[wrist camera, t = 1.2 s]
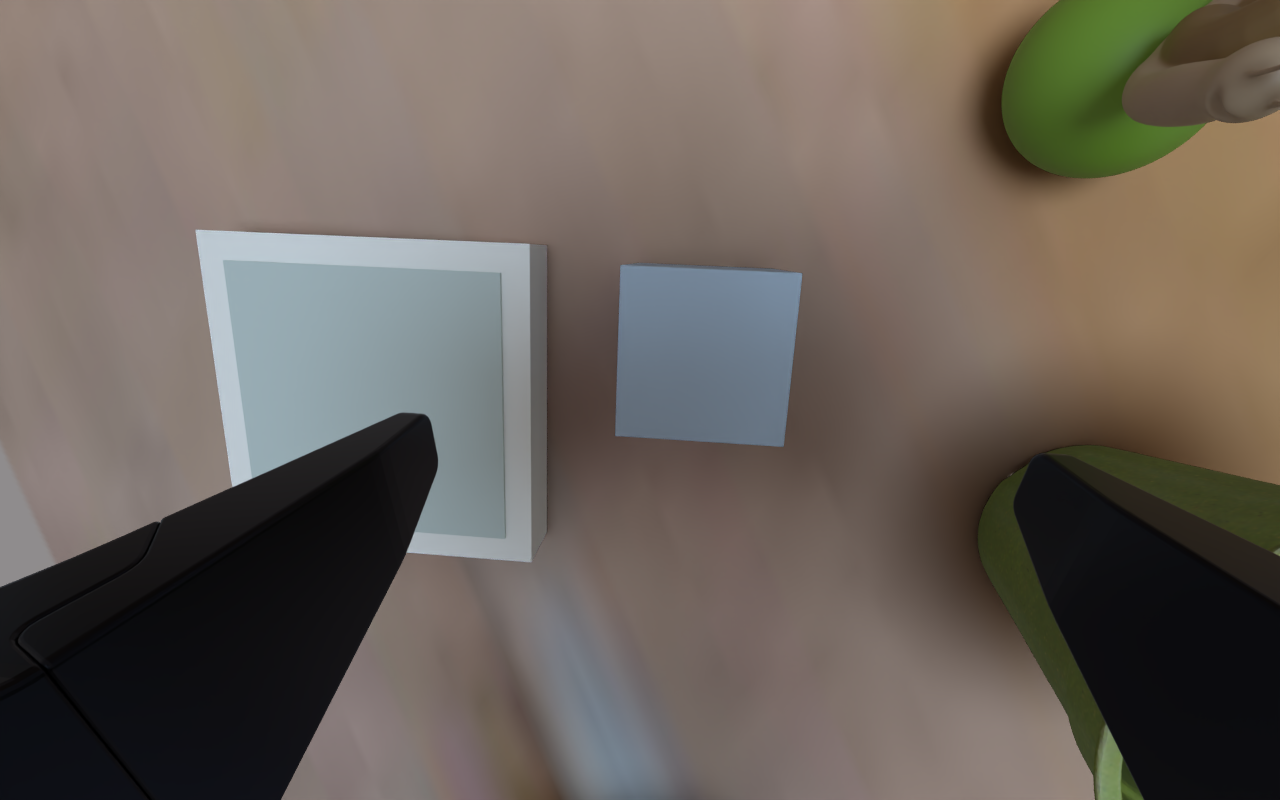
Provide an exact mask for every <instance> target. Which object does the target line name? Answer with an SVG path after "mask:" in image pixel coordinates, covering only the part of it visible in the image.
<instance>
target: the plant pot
mask: <svg viewBox="0 0 1280 800" xmlns="http://www.w3.org/2000/svg"><path fill="white" fill-rule="evenodd" d="M1046 453H1052V454H1066V455H1071V456H1073V457H1076V458H1078V459H1080V460H1082V461H1084V462H1086V463H1088V464H1090V465H1092V466H1094V467H1096V468H1098V469H1100V470H1103V471H1105V472H1107V473H1109V474H1111V475H1113V476H1115V477H1117V478H1119V479H1121V480H1123V481H1125V482H1127V483H1130V484H1132V485H1134V486H1136V487H1138V488H1140V489H1142V490H1144V491H1146V492H1148V493H1150V494H1152V495H1154V496H1156V497H1159V498H1161V499H1163V500H1165V501H1167V502H1169V503H1171V504H1173V505H1175V506H1177V507H1179V508H1181V509H1183V510H1186V511H1188V512H1190V513H1192V514H1194V515H1196V516H1198V517H1200V518H1202V519H1204V520H1206V521H1208V522H1210V523H1213V524H1215V525H1217V526H1219V527H1221V528H1223V529H1225V530H1227V531H1229V532H1231V533H1233V534H1235V535H1237V536H1240V537H1242V538H1244V539H1246V540H1248V541H1250V542H1252V543H1254V544H1256V545H1258V546H1260V547H1262V548H1264V549H1266V550H1269V551H1271V552H1273V553H1275V554H1277V555H1279V556H1280V485H1276V484H1272V483H1267V482H1262V481H1258V480H1253V479H1249V478H1244V477H1240V476H1236V475H1231V474H1227V473H1222V472H1218V471H1213V470H1209V469H1204V468H1200V467H1195V466H1191V465H1186V464H1182V463H1177V462H1173V461H1168V460H1164V459H1160V458H1155V457H1151V456H1147V455H1142V454H1138V453H1134V452H1129V451H1124V450H1120V449H1115V448H1110V447H1105V446H1096V445H1081V446H1071V447H1065V448H1060V449H1056V450H1052V451H1049V452H1046ZM1028 465H1029V464H1027V465H1026V466H1025V467H1023V468H1022V469H1020V470H1018V471H1017V472H1016V473H1014V474H1013V475H1011V476H1010V477H1008V478H1006V479H1005V480H1003V481H1002V482H1001V483H1000V484H999V485H998V487H997V488H996V489H995V490H994V492H993V493H992V495H991V497H990V498H989V500H988V502H987V504H986V505H985V507H984V510H983V513H982V516H981V519H980V522H979V528H978V549H979V554H980V558H981V562H982V564H983V567H984V569H985V571H986V573H987V575H988V577H989V579H990V580H991V582H992V584H993V586H994V587H995V589H996V591H997V593H998V594H999V596H1000V598H1001V599H1002V601H1003V603H1004V605H1005V606H1006V608H1007V610H1008V612H1009V613H1010V615H1011V617H1012V618H1013V620H1014V622H1015V624H1016V625H1017V627H1018V629H1019V631H1020V632H1021V634H1022V636H1023V638H1024V639H1025V641H1026V643H1027V645H1028V646H1029V648H1030V650H1031V652H1032V654H1033V655H1034V657H1035V659H1036V661H1037V662H1038V664H1039V666H1040V668H1041V669H1042V671H1043V673H1044V675H1045V676H1046V678H1047V680H1048V682H1049V683H1050V685H1051V687H1052V688H1053V690H1054V692H1055V694H1056V695H1057V697H1058V699H1059V701H1060V702H1061V704H1062V706H1063V708H1064V709H1065V711H1066V713H1067V715H1068V717H1069V722H1070V726H1071V729H1072V732H1073V735H1074V738H1075V741H1076V743H1077V746H1078V748H1079V750H1080V752H1081V754H1082V756H1083V758H1084V760H1085V761H1086V763H1087V765H1088V767H1089V769H1090V771H1091V772H1092V774H1093V777H1094V794H1095V800H1144V799H1143V797H1142V795H1141V793H1140V791H1139V789H1138V787H1137V785H1136V783H1135V781H1134V779H1133V777H1132V775H1131V773H1130V771H1129V769H1128V767H1127V765H1126V763H1125V761H1124V759H1123V757H1122V755H1121V753H1120V751H1119V749H1118V747H1117V745H1116V743H1115V741H1114V739H1113V737H1112V735H1111V733H1110V731H1109V729H1108V727H1107V725H1106V723H1105V721H1104V719H1103V717H1102V715H1101V713H1100V711H1099V708H1098V706H1097V704H1096V702H1095V700H1094V698H1093V696H1092V694H1091V692H1090V690H1089V688H1088V686H1087V684H1086V682H1085V680H1084V678H1083V676H1082V674H1081V672H1080V670H1079V668H1078V666H1077V664H1076V662H1075V660H1074V658H1073V656H1072V654H1071V652H1070V650H1069V648H1068V646H1067V644H1066V642H1065V640H1064V638H1063V636H1062V634H1061V632H1060V630H1059V628H1058V626H1057V624H1056V621H1055V619H1054V617H1053V615H1052V613H1051V611H1050V608H1049V606H1048V604H1047V601H1046V599H1045V596H1044V594H1043V591H1042V589H1041V586H1040V583H1039V580H1038V578H1037V575H1036V572H1035V569H1034V567H1033V564H1032V561H1031V559H1030V556H1029V553H1028V550H1027V548H1026V545H1025V542H1024V539H1023V537H1022V534H1021V531H1020V528H1019V526H1018V523H1017V520H1016V517H1015V514H1014V510H1013V501H1014V497H1015V494H1016V492H1017V490H1018V487H1019V485H1020V483H1021V481H1022V478H1023V476H1024V474H1025V472H1026V469H1027V467H1028Z"/></svg>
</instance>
